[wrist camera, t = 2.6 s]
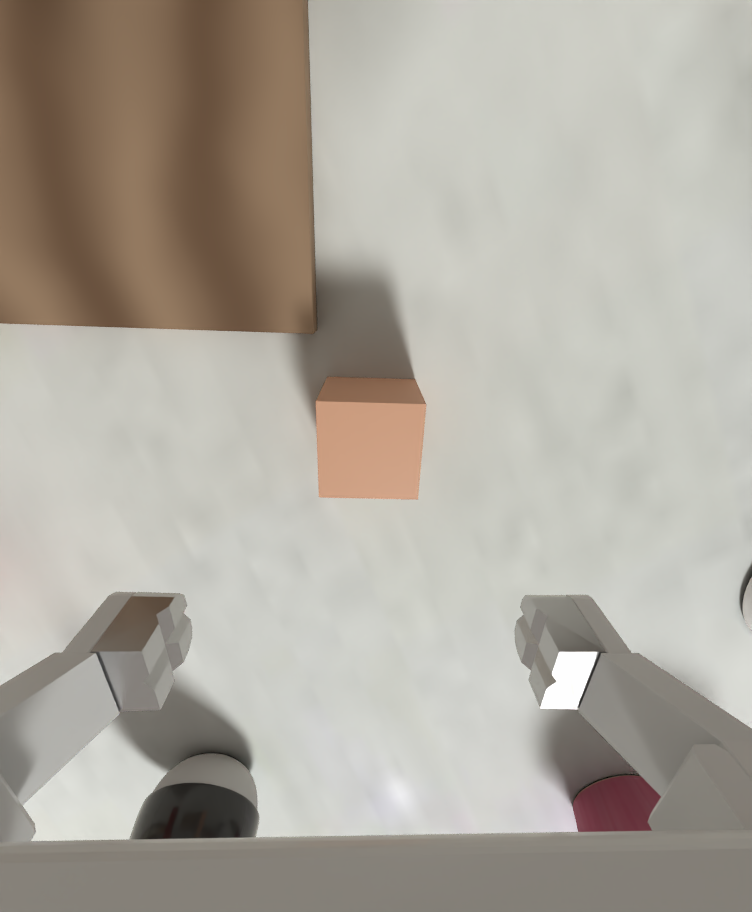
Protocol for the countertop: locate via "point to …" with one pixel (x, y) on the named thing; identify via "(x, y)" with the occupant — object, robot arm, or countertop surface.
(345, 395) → the cube
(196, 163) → the walnut board
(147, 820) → the black glossy tall piece
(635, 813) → the plant pot
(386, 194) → the countertop surface
